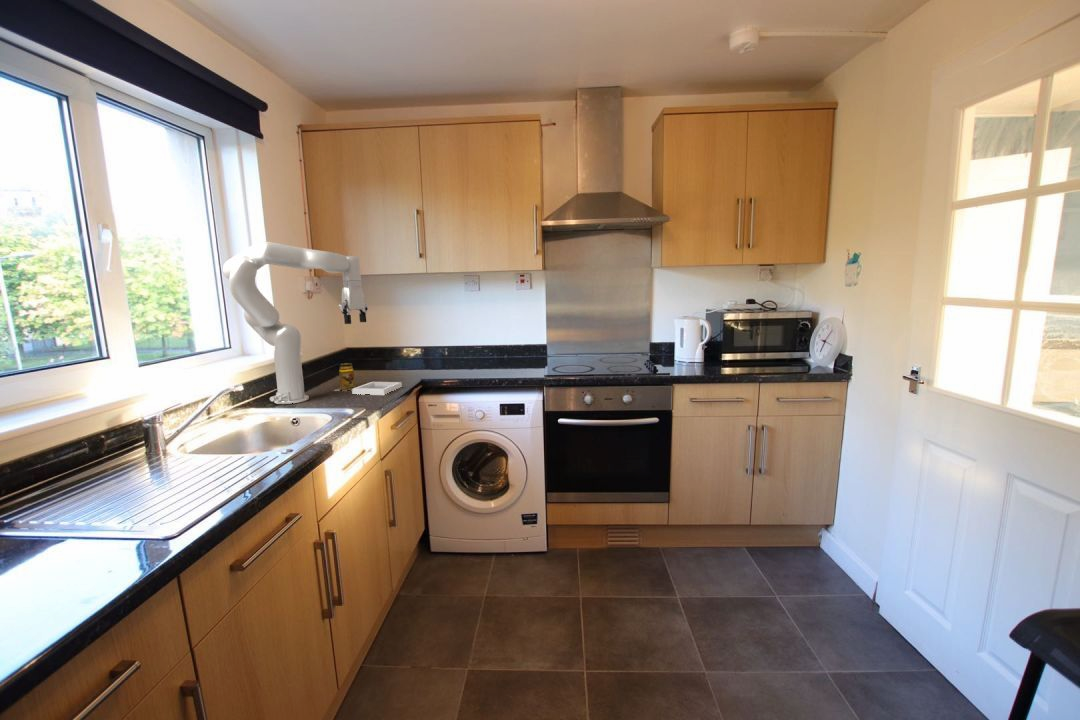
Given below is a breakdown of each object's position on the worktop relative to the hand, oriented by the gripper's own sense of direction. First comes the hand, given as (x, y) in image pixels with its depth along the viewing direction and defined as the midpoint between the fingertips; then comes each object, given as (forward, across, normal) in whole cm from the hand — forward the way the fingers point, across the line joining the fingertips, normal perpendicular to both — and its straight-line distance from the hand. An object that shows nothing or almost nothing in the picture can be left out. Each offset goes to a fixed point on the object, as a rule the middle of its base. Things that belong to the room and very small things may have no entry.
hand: (355, 323), depth 208 cm
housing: (+30, +3, +11) cm, 32 cm away
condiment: (+31, +3, -6) cm, 31 cm away
